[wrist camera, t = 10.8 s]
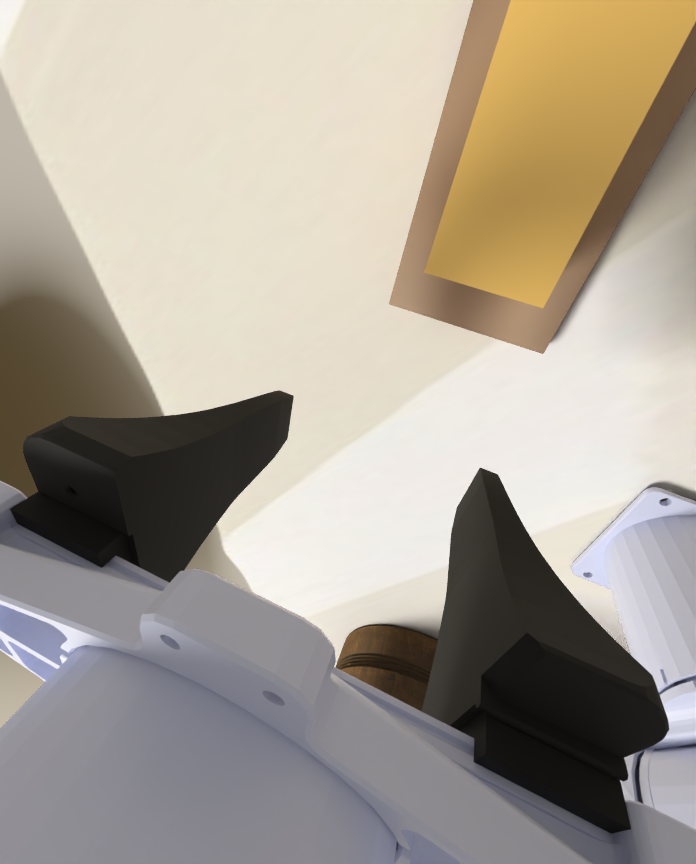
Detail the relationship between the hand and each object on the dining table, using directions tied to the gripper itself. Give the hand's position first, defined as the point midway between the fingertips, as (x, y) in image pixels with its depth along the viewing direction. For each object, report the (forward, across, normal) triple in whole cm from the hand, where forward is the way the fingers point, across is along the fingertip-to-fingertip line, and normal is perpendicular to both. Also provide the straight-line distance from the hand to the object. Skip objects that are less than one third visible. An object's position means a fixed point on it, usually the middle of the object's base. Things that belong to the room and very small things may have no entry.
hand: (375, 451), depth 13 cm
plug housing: (+8, -2, -10) cm, 13 cm away
